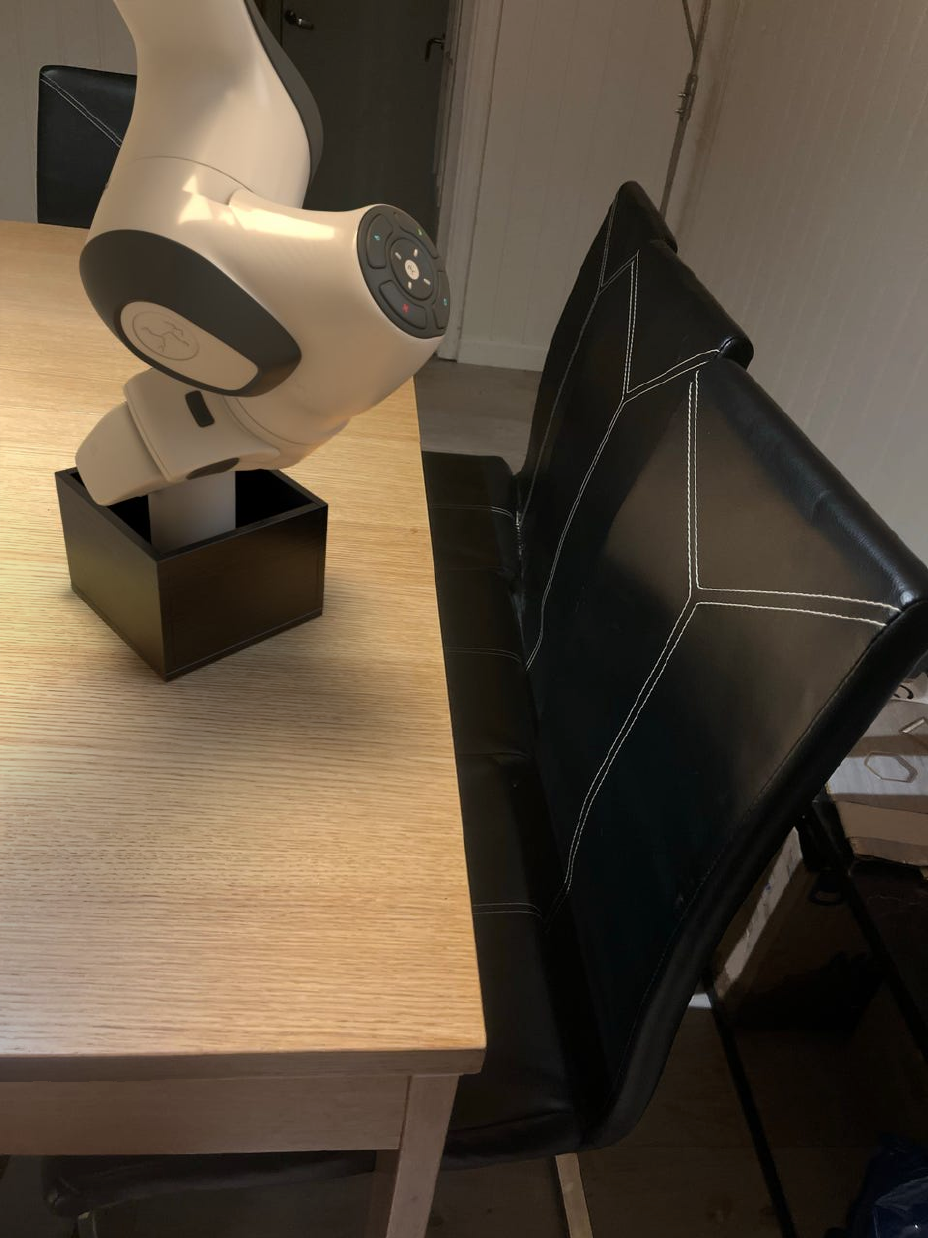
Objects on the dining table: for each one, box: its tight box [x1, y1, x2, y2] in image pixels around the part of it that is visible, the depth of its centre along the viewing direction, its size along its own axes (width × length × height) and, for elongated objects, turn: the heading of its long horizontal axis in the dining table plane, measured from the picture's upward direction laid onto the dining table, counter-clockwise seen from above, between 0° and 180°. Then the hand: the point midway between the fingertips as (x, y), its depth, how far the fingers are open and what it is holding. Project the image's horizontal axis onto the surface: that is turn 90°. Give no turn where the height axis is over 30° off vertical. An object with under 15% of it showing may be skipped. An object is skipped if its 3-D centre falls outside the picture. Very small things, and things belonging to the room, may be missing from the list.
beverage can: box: [148, 471, 235, 554], centre depth 69 cm, size 6×6×12 cm
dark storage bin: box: [54, 466, 329, 683], centre depth 72 cm, size 15×15×11 cm
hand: (186, 471), depth 69 cm, fingers closed on beverage can, 6 cm apart
